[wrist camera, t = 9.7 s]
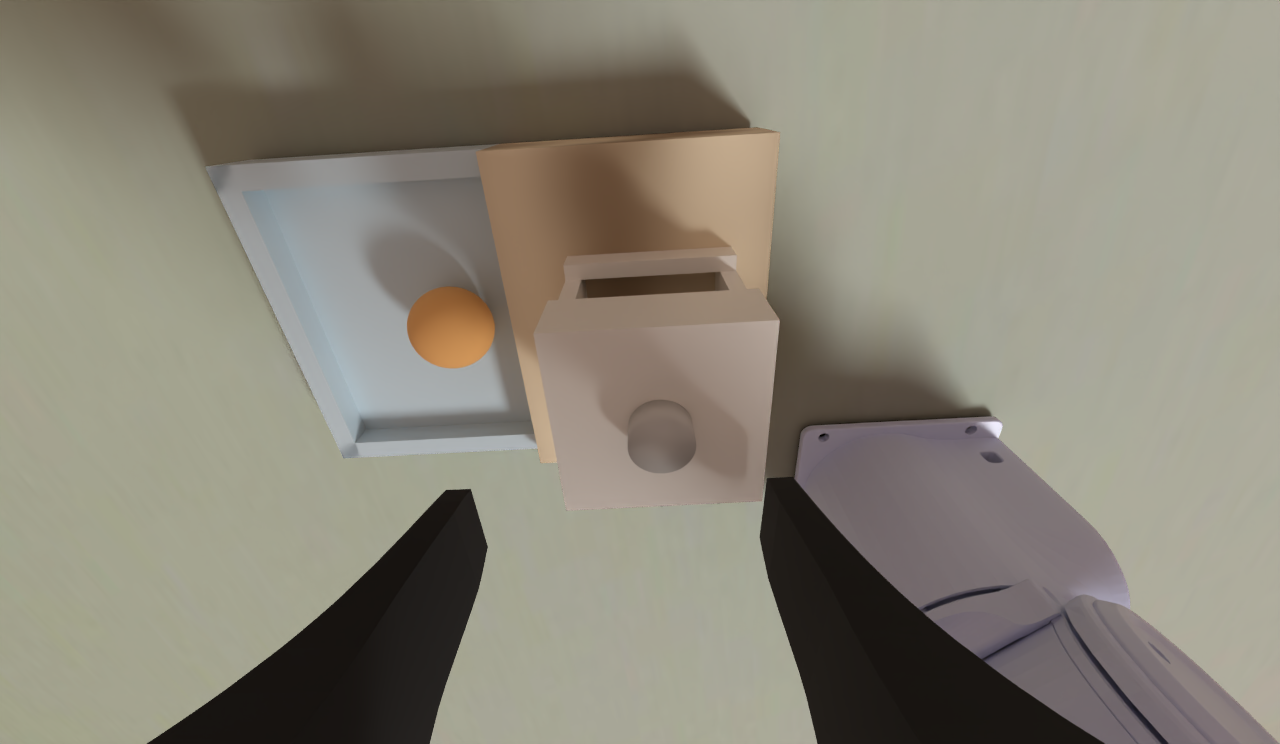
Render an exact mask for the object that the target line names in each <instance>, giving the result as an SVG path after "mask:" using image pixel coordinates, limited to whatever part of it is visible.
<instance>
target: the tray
mask: <svg viewBox="0 0 1280 744" xmlns="http://www.w3.org/2000/svg"><path fill="white" fill-rule="evenodd" d="M495 145H498V144H489V145H473V146H458V147H442V148H426V149H411V150H395V151H380V152H364V153H348V154H333V155H317V156H301V157H286V158H270V159H254V160H245V161H238V162H232V163H225V164H219V165H212V166H205V168H206V170H207V172H208V174H209V176H210V178H211V181H212V183H213V185H214V187H215V189H216V191H217V193H218V195H219V197H220V199H221V202H222V204H223V206H224V208H225V210H226V212H227V214H228V216H229V218H230V221H231V223H232V225H233V227H234V229H235V231H236V233H237V235H238V237H239V239H240V242H241V244H242V246H243V248H244V250H245V252H246V254H247V256H248V258H249V260H250V263H251V265H252V267H253V269H254V271H255V273H256V275H257V277H258V279H259V282H260V284H261V286H262V288H263V290H264V292H265V294H266V296H267V298H268V300H269V303H270V305H271V307H272V309H273V311H274V313H275V315H276V317H277V319H278V321H279V324H280V326H281V328H282V330H283V332H284V334H285V336H286V338H287V340H288V343H289V345H290V347H291V349H292V351H293V353H294V355H295V357H296V359H297V361H298V364H299V366H300V368H301V370H302V372H303V374H304V376H305V378H306V380H307V382H308V385H309V387H310V389H311V391H312V393H313V395H314V397H315V399H316V401H317V404H318V406H319V408H320V410H321V412H322V414H323V416H324V418H325V420H326V422H327V425H328V427H329V429H330V431H331V433H332V435H333V437H334V439H335V441H336V443H337V446H338V448H339V450H340V452H341V454H342V456H343V458H359V457H379V456H398V455H418V454H438V453H457V452H477V451H497V450H517V449H536V448H537V443H536V438H535V434H534V429H533V424H532V419H531V415H530V410H529V405H528V400H527V395H526V391H525V386H524V381H523V376H522V372H521V367H520V362H519V357H518V352H517V348H516V343H515V338H514V333H513V329H512V324H511V319H510V314H509V309H508V305H507V300H506V295H505V290H504V286H503V281H502V276H501V271H500V266H499V262H498V257H497V252H496V247H495V243H494V238H493V233H492V228H491V223H490V219H489V214H488V209H487V204H486V200H485V195H484V190H483V185H482V180H481V176H480V171H479V166H478V161H477V156H476V151H479V150H482V149H486V148H489V147H492V146H495ZM447 286H451V287H459V288H463V289H466V290H468V291H471V292H473V293H474V294H476V295H477V296H479V297H480V298H481V299H482V300H483V301H484V302H485V303H486V304H487V306H488V308H489V309H490V311H491V313H492V316H493V319H494V323H495V334H494V339H493V342H492V345H491V347H490V348H489V350H488V351H487V353H486V354H485V355H484V356H483V357H482V358H481V359H480V360H478V361H477V362H475V363H473V364H471V365H469V366H466V367H462V368H443V367H439V366H436V365H434V364H431V363H430V362H428V361H426V360H425V359H423V358H422V357H421V356H420V355H419V354H418V353H417V352H416V351H415V349H414V348H413V346H412V345H411V342H410V340H409V337H408V333H407V319H408V315H409V312H410V310H411V308H412V306H413V305H414V303H415V302H416V301H417V300H418V299H419V298H420V297H421V296H422V295H423V294H425V293H427V292H428V291H430V290H433V289H436V288H439V287H447Z"/></svg>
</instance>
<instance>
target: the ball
mask: <svg viewBox="0 0 1280 744" xmlns="http://www.w3.org/2000/svg"><path fill="white" fill-rule="evenodd" d="M407 333H408V337H409V340H410V342H411V345H412V346H413V348H414V349H415V351H416V352H417V353H418V354H419V355H420V356H421V357H422V358H423V359H425V360H426V361H428V362H430V363H431V364H434V365H436V366H439V367H443V368H462V367H466V366H469V365H471V364H473V363H475V362H477V361H478V360H480V359H481V358H482V357H483V356H484V355H485V354H486V353H487V351H488V350H489V348H490V347H491V345H492V342H493V339H494V334H495V323H494V319H493V316H492V313H491V311H490V309H489V308H488V306H487V304H486V303H485V302H484V301H483V300H482V299H481V298H480V297H479V296H477V295H476V294H474V293H473V292H471V291H468V290H466V289H463V288H459V287H451V286H447V287H439V288H436V289H433V290H430V291H428V292H427V293H425V294H423V295H422V296H421V297H420V298H419V299H418V300H417V301H416V302H415V303H414V305H413V306H412V308H411V310H410V312H409V315H408V319H407Z"/></svg>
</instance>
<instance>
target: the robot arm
mask: <svg viewBox="0 0 1280 744" xmlns="http://www.w3.org/2000/svg"><path fill="white" fill-rule="evenodd" d="M970 426H971V427H970ZM1002 426H1003V424H1002V422H1001V421H1000V420H998V419H997V418H996V417H992V416H989V417H969V418H950V419H930V420H910V421H891V422H871V423H852V424H832V425H813V426H808V427H806V428H804V429H803V431H802V432H801V436H800V443H799V450H798V457H797V464H796V471H795V478H793V477H785V478H767V483H766V491H765V499H764V507H763V515H762V523H761V531H760V541H761V546H762V551H763V556H764V561H765V565H766V570H767V574H768V579H769V582H770V585H771V588H772V591H773V594H774V597H775V600H776V603H777V607H778V610H779V613H780V616H781V619H782V622H783V625H784V628H785V631H786V634H787V637H788V640H789V643H790V646H791V649H792V652H793V655H794V658H795V661H796V664H797V667H798V670H799V673H800V676H801V680H802V683H803V686H804V690H805V693H806V697H807V701H808V705H809V709H810V714H811V718H812V722H813V726H814V730H815V735H816V739H817V743H818V744H1279V743H1278V742H1277V741H1276V740H1275V739H1274V738H1273V737H1272V736H1271V735H1270V734H1269V733H1268V732H1267V731H1266V730H1265V729H1264V728H1263V727H1262V726H1261V725H1260V724H1259V723H1258V722H1257V721H1256V720H1255V719H1254V718H1253V717H1252V716H1251V715H1250V714H1249V713H1248V712H1247V711H1246V710H1245V709H1244V708H1243V707H1242V706H1241V705H1240V704H1239V703H1238V702H1237V701H1236V700H1235V699H1234V698H1233V697H1231V696H1230V695H1229V694H1228V693H1227V692H1226V691H1225V690H1224V689H1223V688H1222V687H1221V686H1220V685H1219V684H1218V683H1217V682H1216V681H1214V680H1213V679H1212V678H1211V677H1210V676H1209V675H1208V674H1207V673H1206V672H1205V671H1204V670H1203V669H1201V668H1200V667H1199V666H1198V665H1197V664H1196V663H1195V662H1194V661H1193V660H1191V659H1190V658H1189V657H1188V656H1187V655H1186V654H1185V653H1184V652H1182V651H1181V650H1180V649H1179V648H1178V647H1177V646H1175V645H1174V644H1173V643H1172V642H1171V641H1170V640H1168V639H1167V638H1166V637H1165V636H1164V635H1162V634H1161V633H1160V632H1159V631H1158V630H1156V629H1155V628H1154V627H1153V626H1151V625H1150V624H1149V623H1148V622H1146V621H1145V620H1144V619H1142V618H1141V617H1140V616H1138V615H1137V614H1135V613H1134V612H1133V611H1131V610H1130V596H1129V591H1128V586H1127V583H1126V580H1125V578H1124V575H1123V572H1122V570H1121V568H1120V566H1119V564H1118V562H1117V560H1116V558H1115V556H1114V554H1113V553H1112V551H1111V549H1110V548H1109V546H1108V545H1107V543H1106V542H1105V541H1104V539H1103V538H1102V537H1101V535H1100V534H1099V533H1098V532H1097V531H1096V530H1095V528H1094V527H1093V526H1092V525H1091V524H1090V523H1089V522H1088V521H1087V520H1086V519H1084V518H1083V517H1082V516H1081V515H1080V514H1079V513H1078V512H1077V511H1076V510H1075V509H1074V508H1073V507H1072V506H1070V505H1069V504H1068V503H1067V502H1066V501H1065V500H1064V499H1063V498H1062V497H1061V496H1060V495H1059V494H1058V493H1056V492H1055V491H1054V490H1053V489H1052V488H1051V487H1050V486H1049V485H1048V484H1047V483H1046V482H1045V481H1044V480H1042V479H1041V478H1040V477H1039V476H1038V475H1037V474H1036V473H1035V472H1034V471H1033V470H1032V469H1031V468H1030V467H1028V466H1027V465H1026V464H1025V463H1024V462H1023V461H1022V460H1021V459H1020V458H1019V457H1018V456H1017V455H1016V454H1014V453H1013V452H1012V451H1011V450H1010V449H1009V448H1008V447H1007V446H1006V445H1005V444H1004V443H1003V442H1002V441H1000V440H999V439H998V437H999V435H1000V432H1001V430H1002ZM968 427H970V428H968ZM967 428H968V429H967ZM824 433H826V434H825V435H824V436H823V437H819V436H820V435H821V434H824ZM487 548H488V546H487V543H486V539H485V536H484V533H483V529H482V526H481V522H480V519H479V516H478V512H477V509H476V505H475V502H474V499H473V495H472V492H471V489H462V490H446V491H445V492H444V493H443V494H442V495H441V496H440V497H439V498H438V499H437V500H436V501H435V502H434V503H433V504H432V505H431V506H430V507H429V508H428V509H427V510H426V511H425V513H424V514H423V515H422V516H421V517H420V518H419V519H418V520H417V521H416V522H415V523H414V524H413V525H412V526H411V527H410V528H409V530H408V531H407V532H406V533H405V534H404V535H403V536H402V537H401V538H400V539H399V540H398V541H397V542H396V543H395V544H394V545H393V546H392V547H391V548H390V549H389V550H388V551H387V552H386V553H385V554H384V555H383V556H382V557H381V559H380V560H379V561H378V562H377V563H376V564H375V565H374V566H373V567H372V568H371V569H370V570H368V571H367V572H366V573H365V574H364V575H363V576H362V577H361V578H360V579H359V580H358V581H357V582H356V583H355V584H354V585H353V586H352V587H351V588H350V589H349V590H348V591H346V592H345V593H344V594H343V595H342V596H341V597H340V598H339V599H338V600H337V601H336V602H335V603H334V604H332V605H331V606H330V607H329V608H328V609H327V610H326V611H325V612H323V613H322V614H321V615H320V616H319V617H318V618H317V619H315V620H314V621H313V622H312V623H311V624H309V625H308V626H307V627H306V628H305V629H303V630H302V631H301V632H300V633H299V634H297V635H296V636H295V637H294V638H293V639H291V640H290V641H289V642H288V643H286V644H285V645H284V646H283V647H281V648H280V649H279V650H278V651H276V652H275V653H274V654H272V655H271V656H270V657H268V658H267V659H266V660H264V661H263V662H262V663H260V664H259V665H258V666H257V667H255V668H254V669H253V670H251V671H250V672H249V673H247V674H246V675H245V676H243V677H242V678H241V679H239V680H238V681H237V682H235V683H234V684H233V685H231V686H230V687H229V688H227V689H226V690H225V691H223V692H222V693H220V694H219V695H218V696H216V697H215V698H213V699H212V700H211V701H209V702H208V703H206V704H205V705H203V706H202V707H201V708H199V709H198V710H196V711H195V712H193V713H192V714H190V715H189V716H188V717H186V718H185V719H183V720H182V721H180V722H179V723H177V724H176V725H174V726H173V727H171V728H170V729H168V730H167V731H165V732H164V733H162V734H161V735H159V736H158V737H156V738H155V739H153V740H152V741H150V742H149V743H147V744H430V740H431V736H432V732H433V728H434V724H435V720H436V716H437V712H438V708H439V705H440V701H441V698H442V695H443V692H444V688H445V685H446V682H447V679H448V676H449V674H450V671H451V668H452V665H453V662H454V659H455V656H456V653H457V651H458V648H459V645H460V642H461V639H462V636H463V633H464V630H465V628H466V625H467V622H468V619H469V616H470V613H471V610H472V607H473V604H474V601H475V598H476V595H477V592H478V589H479V585H480V581H481V576H482V572H483V567H484V562H485V557H486V553H487Z"/></svg>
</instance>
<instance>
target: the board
mask: <svg viewBox="0 0 1280 744" xmlns="http://www.w3.org/2000/svg"><path fill="white" fill-rule="evenodd" d="M779 141H780V132H776V131H772V130H767V129H762V128H758V127H755V128H739V129H724V130H708V131H693V132H677V133H661V134H646V135H630V136H614V137H599V138H583V139H567V140H552V141H536V142H520V143H505V144H498V145H495V146H492V147H489V148H486V149H482V150H479V151H476V156H477V161H478V166H479V171H480V176H481V180H482V185H483V190H484V195H485V200H486V204H487V209H488V214H489V219H490V223H491V228H492V233H493V238H494V243H495V247H496V252H497V257H498V262H499V266H500V271H501V276H502V281H503V286H504V290H505V295H506V300H507V305H508V309H509V314H510V319H511V324H512V329H513V333H514V338H515V343H516V348H517V352H518V357H519V362H520V367H521V372H522V376H523V381H524V386H525V391H526V395H527V400H528V405H529V410H530V415H531V419H532V424H533V429H534V434H535V438H536V443H537V448H538V453H539V458H540V462H541V463H553V462H557V458H556V453H555V447H554V442H553V437H552V431H551V426H550V421H549V415H548V410H547V404H546V399H545V394H544V388H543V383H542V378H541V372H540V367H539V362H538V356H537V351H536V345H535V340H534V335H533V333H534V331H535V329H536V327H537V324H538V322H539V320H540V317H541V315H542V313H543V311H544V308H545V306H546V304H547V301H549V300H558V299H559V296H560V293H561V291H562V288H563V286H564V283H565V274H564V267H563V265H564V262H565V260H566V258H567V256H579V255H596V254H613V253H630V252H647V251H663V250H680V249H697V248H714V247H732V249H733V250H734V252H735V253H736V255H737V263H736V271H737V273H738V275H739V276H740V278H741V280H742V282H743V283H744V285H745V287H746V288H747V289H760V291H761V292H762V294H763V295H764V297H765V298H766V300H767V288H768V276H769V264H770V251H771V239H772V227H773V214H774V202H775V190H776V177H777V165H778V153H779ZM585 282H586V291H587V298H601V297H619V296H636V295H654V294H671V293H689V292H706V291H715V272H708V273H690V274H673V275H656V276H639V277H621V278H604V279H587V280H585Z"/></svg>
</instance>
